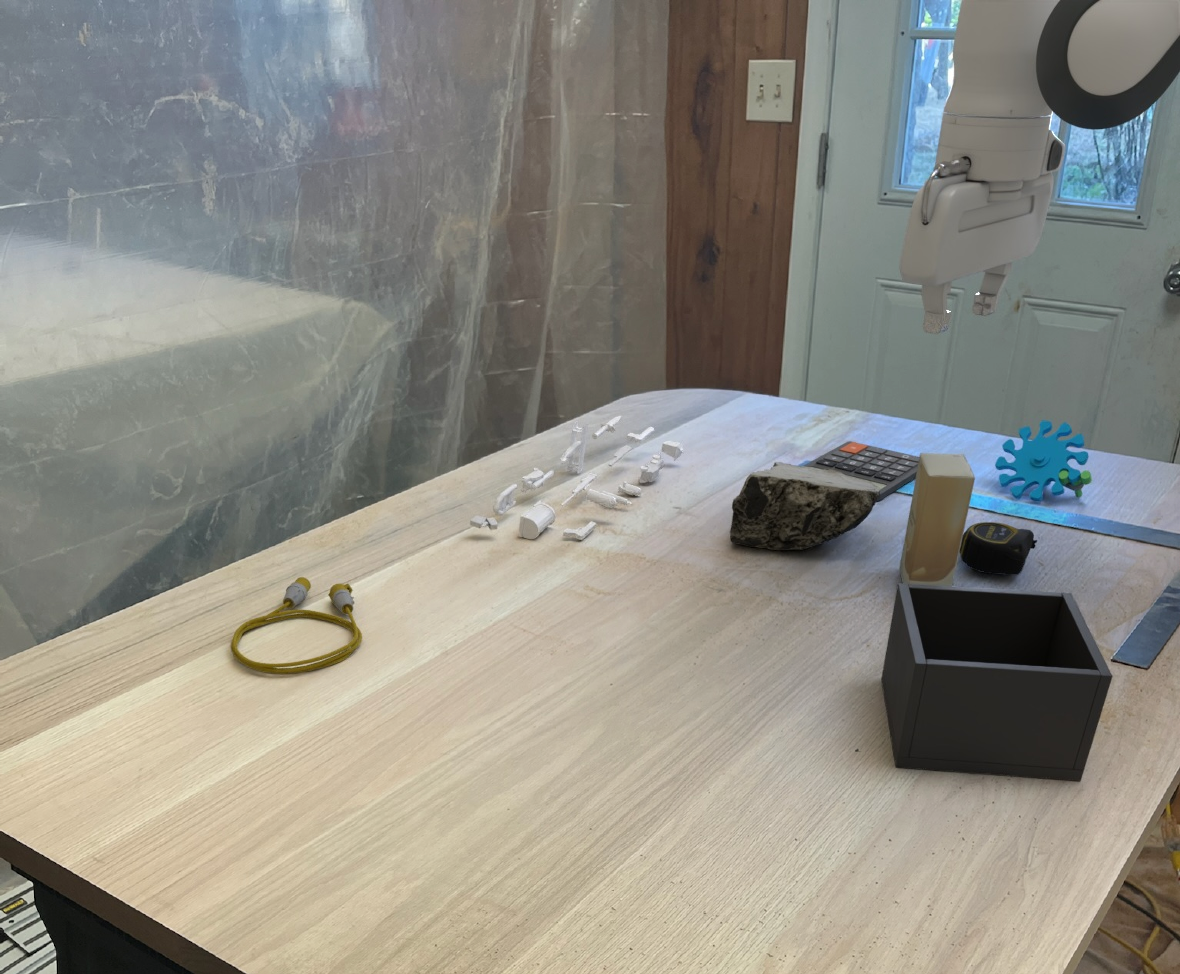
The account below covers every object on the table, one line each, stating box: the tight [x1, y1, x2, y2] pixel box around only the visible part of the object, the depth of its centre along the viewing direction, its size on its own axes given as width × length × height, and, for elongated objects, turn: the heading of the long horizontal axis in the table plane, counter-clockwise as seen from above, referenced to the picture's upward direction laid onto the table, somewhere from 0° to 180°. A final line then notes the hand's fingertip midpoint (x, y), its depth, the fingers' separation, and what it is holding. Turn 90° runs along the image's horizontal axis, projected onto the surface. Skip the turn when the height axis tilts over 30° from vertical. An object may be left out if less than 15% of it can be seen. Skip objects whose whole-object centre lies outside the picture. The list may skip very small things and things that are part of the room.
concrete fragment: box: [729, 461, 880, 551], centre depth 121 cm, size 15×10×15 cm
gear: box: [994, 420, 1093, 503], centre depth 134 cm, size 11×6×10 cm
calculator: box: [802, 441, 920, 502], centre depth 139 cm, size 12×1×15 cm
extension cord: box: [230, 576, 363, 675], centre depth 104 cm, size 12×16×2 cm
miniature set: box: [469, 415, 685, 541], centre depth 132 cm, size 6×35×12 cm
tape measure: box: [959, 521, 1038, 576], centre depth 116 cm, size 7×7×4 cm
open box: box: [881, 582, 1113, 782], centre depth 89 cm, size 14×14×9 cm
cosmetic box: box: [898, 452, 976, 586], centre depth 111 cm, size 6×4×12 cm
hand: (959, 323), depth 106 cm, fingers open, 8 cm apart
